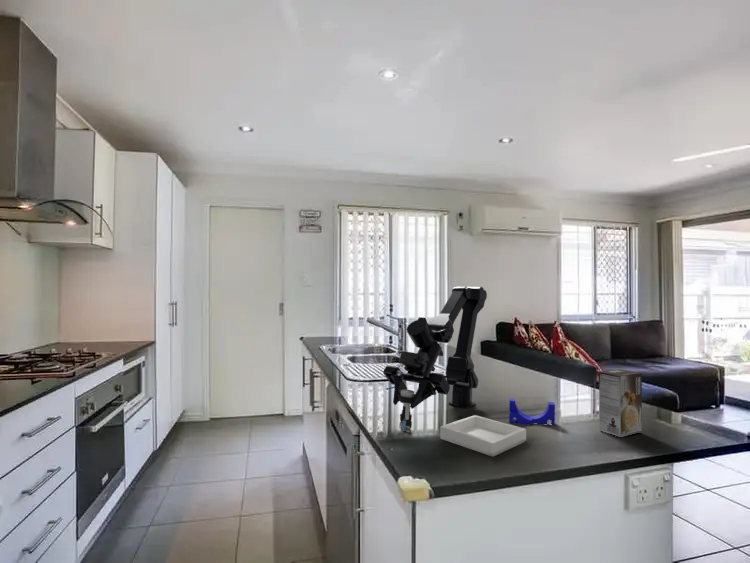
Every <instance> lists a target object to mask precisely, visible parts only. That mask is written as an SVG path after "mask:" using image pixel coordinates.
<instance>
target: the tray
mask: <svg viewBox="0 0 750 563" xmlns="http://www.w3.org/2000/svg"><path fill="white" fill-rule="evenodd" d="M439 428H440V429H439V430H440V431H439V433H440V434H439V438H440V440H443V441H447V442H449V443H452V444H455V445H458V446H461V447H463V448H467V449H469V450H473V451H476V452H478V453H481V454H483V455H487V456H490V457H492V458H493V457H495V456H497V455H500V454H502V453H503V452H506V451H509V450H511V449H512V448H514V447H517V446H519V445H521V444H523V443H526V442H527V428H523V427H520V426H516V425H513V424H510V423H505V422H502V421H497V420H495V419H491V418H487V417H485V416H480V415H476V414H473V415H472V416H468V417H466V418H465V417H464V418H462V419H459V420H455V421H453V422H450V423H447V424H444V425H441V426H440V427H439ZM525 441H526V442H525Z"/></svg>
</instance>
